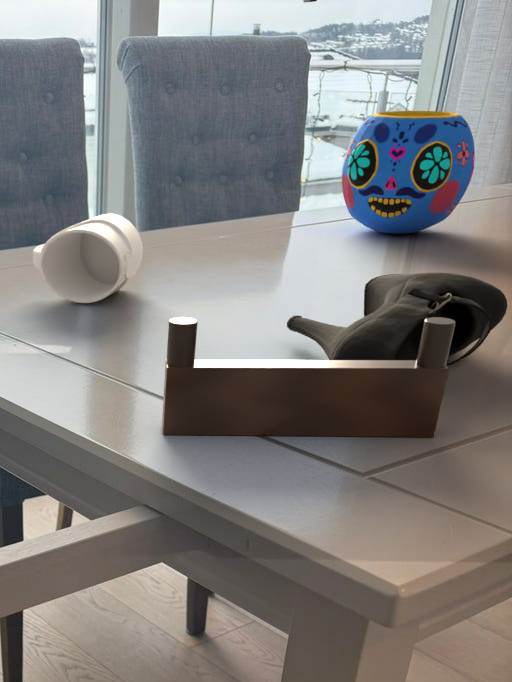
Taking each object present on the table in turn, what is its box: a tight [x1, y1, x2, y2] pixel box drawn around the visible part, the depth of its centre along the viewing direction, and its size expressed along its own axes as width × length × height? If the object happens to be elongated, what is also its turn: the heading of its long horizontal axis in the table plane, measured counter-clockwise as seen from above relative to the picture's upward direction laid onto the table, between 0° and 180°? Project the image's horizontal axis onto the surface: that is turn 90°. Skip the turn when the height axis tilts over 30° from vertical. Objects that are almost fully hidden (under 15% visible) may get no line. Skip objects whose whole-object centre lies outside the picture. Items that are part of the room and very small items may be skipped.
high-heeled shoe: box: [286, 272, 508, 367], centre depth 79 cm, size 8×19×20 cm
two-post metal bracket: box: [161, 316, 456, 438], centre depth 67 cm, size 20×2×8 cm, turn 86°
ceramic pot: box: [341, 110, 476, 235], centre depth 131 cm, size 18×18×15 cm
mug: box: [32, 213, 144, 304], centre depth 104 cm, size 12×9×8 cm
